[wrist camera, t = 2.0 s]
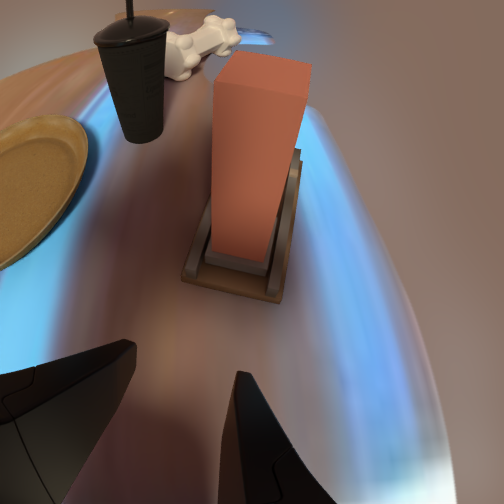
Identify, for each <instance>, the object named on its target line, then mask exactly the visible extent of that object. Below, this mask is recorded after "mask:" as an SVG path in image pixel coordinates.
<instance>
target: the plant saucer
mask: <svg viewBox="0 0 504 504" xmlns="http://www.w3.org/2000/svg"><path fill="white" fill-rule="evenodd" d="M87 155H88V138H87V135H86V132H85V130H84V128H83V127H82V126H81V124H80V123H78V122H77V121H76V120H74V119H72V118H70V117H67V116H63V115H41V116H36V117H32V118H28V119H26V120H22V121H20V122H17V123H15V124H13V125H11V126H9V127H7V128H5V129H3V130H1V131H0V271H1V270H3V269H5V268H7V267H9V266H10V265H12V264H13V263H15V262H16V261H18V260H19V259H20V258H22V257H23V256H24V255H26V254H27V253H28V252H29V251H30V250H32V249H33V248H34V247H35V246H36V245H37V244H38V243H39V242H40V241H41V240H42V239H43V238H44V237H45V236H46V235H47V234H48V232H49V231H50V230H51V229H52V228H53V227H54V225H55V224H56V223H57V221H58V220H59V219H60V217H61V216H62V215H63V213H64V212H65V210H66V208H67V207H68V205H69V204H70V202H71V200H72V198H73V197H74V195H75V192H76V190H77V188H78V186H79V184H80V181H81V179H82V176H83V173H84V170H85V166H86V162H87Z"/></svg>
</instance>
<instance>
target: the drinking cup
mask: <svg viewBox="0 0 504 504" xmlns="http://www.w3.org/2000/svg"><path fill="white" fill-rule="evenodd" d="M126 13H127V18H123V19H121V20H118V21H116V22H114V23H112V24H110V25H109V26H107V27H106V28H105V29H103V30H102V31H100V32H98V33H97V34H96V35H95V36H94V39H93V40H94V44H95V45H97V46H98V50H99V54H100V58H101V61H102V65H103V68H104V72H105V75H106V79H107V82H108V86H109V89H110V92H111V96H112V99H113V102H114V105H115V109H116V112H117V115H118V118H119V121H120V124H121V127H122V130H123V133H124V136H125V138H126V140H127V141H129V142H131V143H135V144H142V143H147V142H150V141H153V140H154V139H156V138H158V137H159V136H160V135H161V133H162V131H163V100H164V71H165V52H166V37H167V31H168V30H169V28H170V23H169V22H168V21H167V20H164V19H159V18H155V17H151V16H134V13H133V0H126Z"/></svg>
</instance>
